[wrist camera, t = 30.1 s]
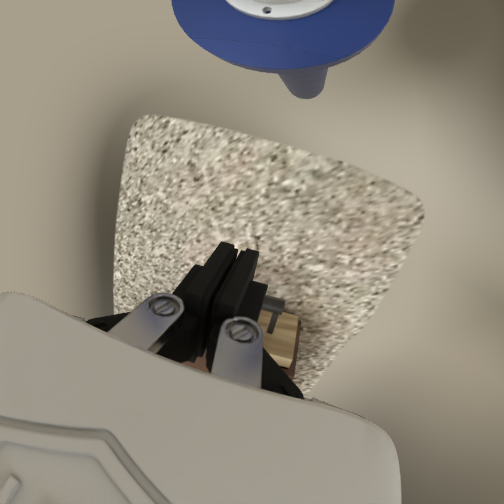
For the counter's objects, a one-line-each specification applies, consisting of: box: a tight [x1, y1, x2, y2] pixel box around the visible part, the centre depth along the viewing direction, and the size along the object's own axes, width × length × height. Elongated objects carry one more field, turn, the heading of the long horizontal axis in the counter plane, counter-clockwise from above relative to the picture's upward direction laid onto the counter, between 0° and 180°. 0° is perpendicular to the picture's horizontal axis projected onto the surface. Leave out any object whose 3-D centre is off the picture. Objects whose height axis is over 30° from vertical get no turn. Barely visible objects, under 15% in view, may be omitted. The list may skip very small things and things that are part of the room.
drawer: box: [257, 295, 298, 368], centre depth 29 cm, size 16×10×7 cm, turn 168°
